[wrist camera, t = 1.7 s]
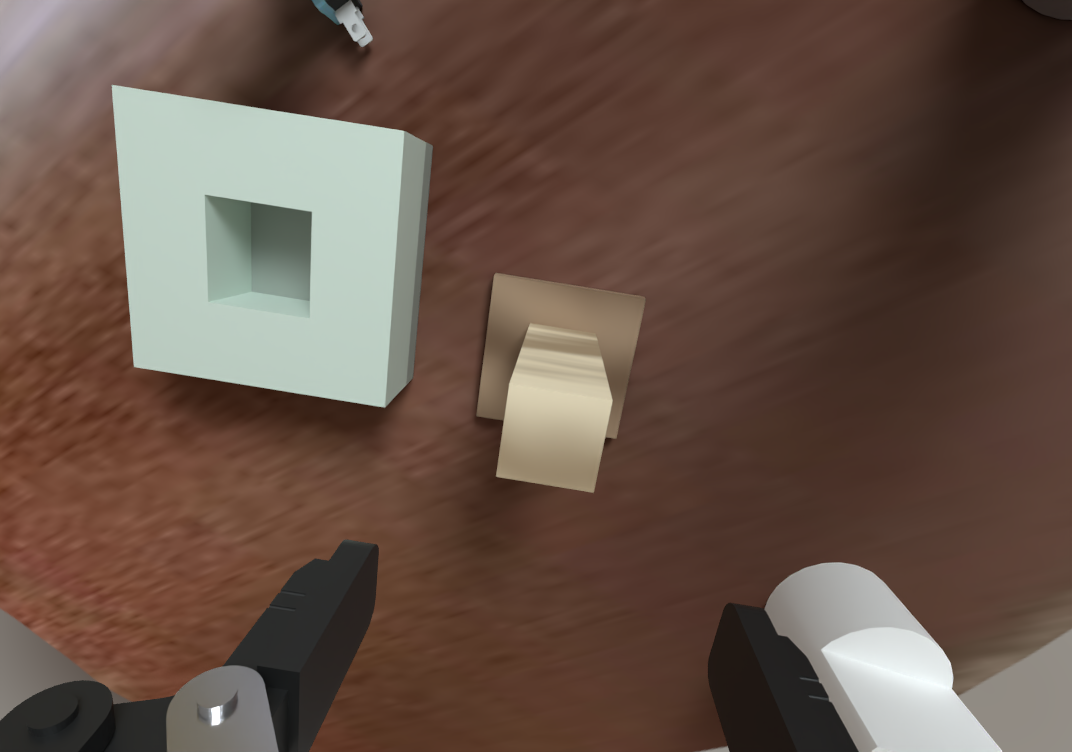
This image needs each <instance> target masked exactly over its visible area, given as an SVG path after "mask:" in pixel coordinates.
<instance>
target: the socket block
mask: <svg viewBox="0 0 1072 752" xmlns="http://www.w3.org/2000/svg"><path fill="white" fill-rule="evenodd" d="M112 95H113V107H114V120H115V132H116V145H117V158H118V170H119V183H120V195H121V208H122V221H123V233H124V246H125V259H126V271H127V284H128V296H129V309H130V322H131V334H132V347H133V359H134V367H138V368H144V369H150V370H157V371H163V372H169V373H175V374H181V375H187V376H194V377H200V378H206V379H212V380H218V381H224V382H231V383H237V384H243V385H249V386H255V387H261V388H267V389H274V390H280V391H286V392H292V393H298V394H304V395H311V396H317V397H323V398H329V399H335V400H341V401H348V402H354V403H360V404H366V405H372V406H378V407H386V406H387V405H388V404H389V403H390V402H391V401H392V400H393V399H394V397H395V396H396V395H397V394H398V393H399V392H400V391H401V390H402V389H403V388H404V387H405V386H406V385H407V384H408V383H409V382H410V381H411V380H412V378H413V371H414V359H415V348H416V336H417V324H418V313H419V301H420V289H421V278H422V266H423V254H424V243H425V231H426V219H427V208H428V196H429V184H430V173H431V161H432V150H433V146H432V145H430V144H428V143H426V142H424V141H422V140H420V139H418V138H417V137H415V136H413V135H411V134H409V133H407V132H405V131H400V130H394V129H388V128H381V127H375V126H369V125H362V124H356V123H350V122H343V121H337V120H331V119H324V118H318V117H312V116H305V115H299V114H293V113H286V112H280V111H274V110H267V109H261V108H255V107H248V106H242V105H236V104H229V103H223V102H217V101H210V100H204V99H198V98H191V97H185V96H179V95H172V94H166V93H160V92H153V91H147V90H141V89H134V88H128V87H122V86H115V85H112Z"/></svg>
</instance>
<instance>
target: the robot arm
mask: <svg viewBox="0 0 1072 752" xmlns="http://www.w3.org/2000/svg"><path fill="white" fill-rule="evenodd" d="M1022 1H1023V2H1024V3H1025V4H1026V5H1028V6H1029V7H1031V8H1032V9H1034V10H1036V11H1037V12H1039V13H1041V14H1043V15H1046V16H1050V17H1053V18H1057V19H1063V20H1072V0H1022ZM378 555H379V548H378V545H377V544H370V543H364V542H358V541H352V540H344V541H343V542H342V543H341V544H340V546H339V547H338V548H337V550H336V551H335V553H334V554H333V556H332V557H331V559H330V560H329V561H327V560H320V559H314V560H312V561H311V562H309V563H308V564H306V565H305V566H303V567H302V568H300V569H299V570H297V571H296V572H294V574H293V575H292V576H291V578H290V579H289V580H288V581H287V583H286V584H285V585H284V587H283V588H282V589H281V592H280V593H278V595H277V596H276V597H275V599H274V600H273V601H272V602H271V604H270V607H269V608H267V609H266V610H265V612H264V613H263V614H262V616H261V617H260V618H259V619H258V621H257V622H256V623H255V625H254V626H253V627H252V629H251V630H250V631H249V633H248V634H247V635H246V637H245V638H244V639H243V640H242V642H241V643H240V644H239V646H238V647H237V648H236V650H235V651H234V652H233V654H232V655H231V656H230V657H229V659H228V660H227V661H226V663H225V664H224V665H223V666H222V667H219V668H215V669H212V670H209V671H207V672H205V673H203V674H200V675H198V676H197V677H195V678H194V679H192V680H191V681H189V682H188V683H187V684H185V685H184V686H183V687H182V688H181V689H180V690H179V691H178V692H177V694H176V695H174V696H171V697H166V698H160V699H153V700H145V701H137V702H129V703H121V704H113V698H112V694H111V692H110V690H109V689H108V688H107V687H106V686H105V685H103V684H101V683H99V682H95V681H83V680H82V681H73V682H68V683H63V684H60V685H57V686H54V687H52V688H48V689H46V690H44V691H42V692H39V693H37V694H35V695H33V696H32V697H30V698H29V699H27V700H25V701H24V702H22V703H21V704H19V705H18V706H16V707H15V708H14V709H13V710H12V711H10V713H8V714H7V715H6V716H5V717H4V718H3V719H2V720H1V721H0V752H309V750H310V748H311V746H312V744H313V742H314V740H315V737H316V735H317V733H318V731H319V729H320V727H321V725H322V723H323V721H324V719H325V717H326V715H327V712H328V710H329V708H330V706H331V704H332V702H333V700H334V698H335V696H336V694H337V692H338V690H339V688H340V685H341V683H342V681H343V679H344V677H345V675H346V673H347V671H348V669H349V667H350V665H351V663H352V660H353V658H354V656H355V654H356V652H357V650H358V648H359V646H360V644H361V642H362V640H363V638H364V636H365V633H366V631H367V629H368V627H369V624H370V621H371V618H372V614H373V610H374V605H375V598H376V584H377V569H378ZM708 679H709V685H710V689H711V692H712V696H713V699H714V702H715V705H716V709H717V712H718V715H719V719H720V722H721V725H722V728H723V732H724V735H725V738H726V741H727V745H728V748H729V751H730V752H859V751H858V749H857V747H856V746H855V744H854V742H853V740H852V738H851V736H850V735H849V733H848V731H847V729H846V727H845V725H844V724H843V722H842V720H841V718H840V716H839V714H838V713H837V711H836V709H835V707H834V705H833V703H832V702H829V696H828V694H827V693H826V691H825V689H824V687H823V685H822V683H819V678H818V676H817V674H816V672H815V671H814V669H813V667H812V665H811V663H810V661H809V660H808V658H807V656H806V655H805V654H804V653H803V652H802V651H801V650H800V649H799V648H798V647H797V646H796V645H795V644H794V643H793V642H792V641H791V640H790V639H789V638H788V637H787V636H781V635H778V634H777V632H776V630H775V628H774V626H773V624H772V622H771V620H770V618H769V616H768V614H767V612H766V611H765V610H764V609H763V608H759V607H752V606H746V605H740V604H734V603H728V604H727V605H726V606H725V608H724V610H723V613H722V617H721V620H720V623H719V626H718V629H717V633H716V636H715V639H714V642H713V646H712V649H711V652H710V656H709V661H708Z"/></svg>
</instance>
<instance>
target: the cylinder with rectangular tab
mask: <svg viewBox="0 0 1072 752" xmlns="http://www.w3.org/2000/svg"><path fill="white" fill-rule="evenodd" d="M764 610H765V611H766V612H767V614H768V616H769V618H770V620H771V622H772V624H773V626H774V628H775V630H776V632H777V634H778V635H781V636H787V637H788V638H789V639H790V640H791V641H792V642H793V643H794V644H795V645H796V646H797V647H798V648H799V649H800V650H801V651H802V652H803V653H804V654H805V655H806V656H807V658H808V660H809V661H810V663H811V665H812V667H813V669H814V671H815V672H816V674H817V676H818V678H819V683H822V685H823V687H824V689H825V691H826V693H827V694H828V696H829V702H832V703H833V705H834V707H835V709H836V711H837V713H838V714H839V716H840V718H841V720H842V722H843V724H844V725H845V727H846V729H847V731H848V733H849V735H850V736H851V738H852V740H853V742H854V744H855V746H856V747H857V749H858V751H859V752H1003V751H1002V750H1001V749H1000V748H999V746H998V745H997V744H996V743H995V742H994V740H993V739H992V738H991V737H990V736H989V734H988V733H987V732H986V730H985V729H984V728H983V727H982V726H981V724H980V723H979V722H978V721H977V720H976V718H975V717H974V716H973V715H972V713H971V712H970V711H969V710H968V708H967V707H966V706H965V705H964V704H963V702H962V701H961V700H960V699H959V697H958V696H957V695H956V694H955V692H954V691H953V690H952V684H953V673H952V668H951V663H950V661H949V660H948V658H947V656H946V655H945V653H944V652H943V650H942V649H941V648H940V646H939V645H938V644H937V643H936V642H935V641H934V639H933V638H932V637H931V636H930V635H929V634H928V633H927V631H926V630H925V629H924V628H923V627H922V626H921V624H920V623H919V622H918V621H917V620H916V619H915V618H914V616H913V615H912V614H911V613H910V612H909V611H908V609H907V608H906V607H905V606H904V605H903V604H902V603H901V601H900V600H899V599H898V598H897V597H896V596H895V594H894V593H893V592H892V591H891V590H890V589H889V588H888V586H887V585H886V584H885V583H884V582H883V581H882V580H881V579H880V578H878V577H877V576H876V575H875V574H874V573H873V572H871V571H869V570H866V569H864V568H862V567H860V566H857V565H852V564H847V563H841V562H838V563H822V564H818V565H814V566H810V567H806V568H804V569H802V570H800V571H798V572H796V573H794V574H792V575H790V576H789V577H788V578H786V579H785V580H784V581H783V582H781V583H780V584H779V585H778V586H777V587H776V588H775V590H774V591H773V593H772V594H771V595H770V597H769V598H768V601H767V603H766V606H765V609H764Z"/></svg>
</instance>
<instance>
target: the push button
mask: <svg viewBox="0 0 1072 752" xmlns="http://www.w3.org/2000/svg"><path fill="white" fill-rule="evenodd" d="M312 1H313V3H314V5H315V6H316V7H317V9H318V10H319V11H320V12H321V13H323V14H325V15H326V16H327V17H328V18H330V19H331V20H332V21H333V22H334V23H336V24H337V25H339V24H342V23H344V25H345V27H346V28H347V30H348V32H349V33H350V35H351V37H352V38H353V40H354V41H355V42H357V41H358V43H359V45H360V46H361V47H364V46H366V45H367V44H368V43H370V42H371V41H372V39H373V38H372V36H371V34H370V32H369V31H368V29H367V27H366V26H365V24H364V22H363V21H362V19H363V18H364V17H363V15H362V14H361V12H360V10H359V9H360V8H361V7H362V4H361V2H360V0H312ZM365 35H366V36H365ZM364 36H365V38H363V37H364ZM361 38H363V39H361Z"/></svg>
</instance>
